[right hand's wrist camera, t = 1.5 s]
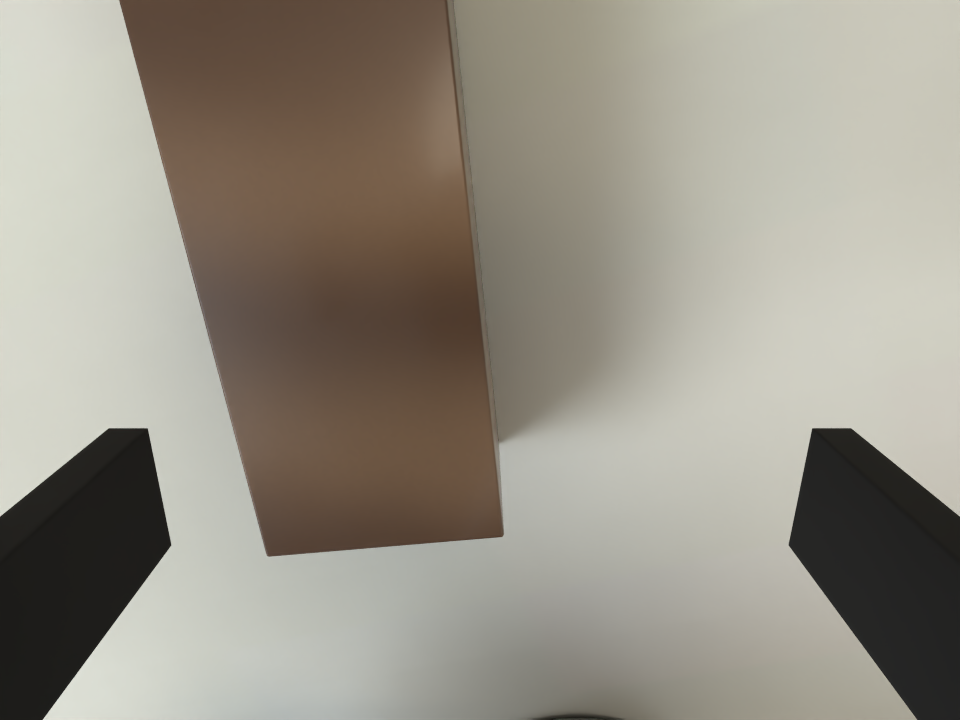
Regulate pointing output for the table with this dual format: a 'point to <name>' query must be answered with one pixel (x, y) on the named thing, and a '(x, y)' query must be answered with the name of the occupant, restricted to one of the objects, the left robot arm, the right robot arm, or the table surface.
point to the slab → (333, 258)
